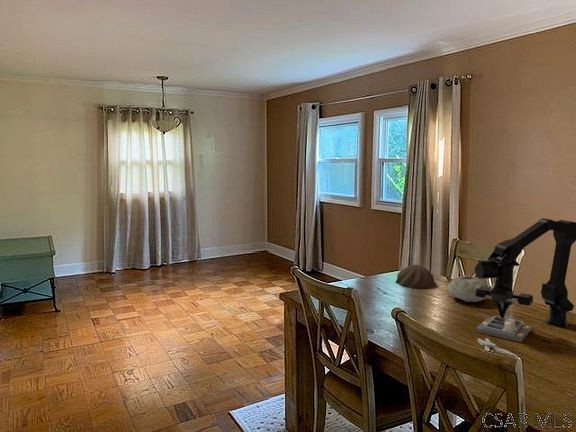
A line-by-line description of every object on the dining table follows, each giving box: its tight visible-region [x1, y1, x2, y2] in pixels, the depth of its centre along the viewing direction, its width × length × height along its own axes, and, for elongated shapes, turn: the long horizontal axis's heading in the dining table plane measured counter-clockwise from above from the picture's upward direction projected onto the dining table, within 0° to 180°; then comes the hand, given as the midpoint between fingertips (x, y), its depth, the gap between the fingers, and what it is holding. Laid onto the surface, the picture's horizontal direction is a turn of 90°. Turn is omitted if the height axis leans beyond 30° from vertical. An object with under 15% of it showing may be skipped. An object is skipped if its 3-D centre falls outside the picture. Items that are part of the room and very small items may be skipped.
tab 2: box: [503, 321, 514, 332], centre depth 154 cm, size 3×3×4 cm
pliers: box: [477, 337, 519, 357], centre depth 143 cm, size 10×2×15 cm
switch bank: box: [475, 315, 532, 343], centre depth 159 cm, size 14×15×3 cm
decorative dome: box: [395, 264, 436, 290], centre depth 224 cm, size 19×20×10 cm
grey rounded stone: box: [447, 275, 491, 303], centre depth 196 cm, size 18×18×10 cm
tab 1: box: [503, 313, 514, 322], centre depth 162 cm, size 3×3×4 cm
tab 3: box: [508, 318, 517, 328], centre depth 158 cm, size 3×3×4 cm
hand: (502, 317), depth 164 cm, fingers closed
